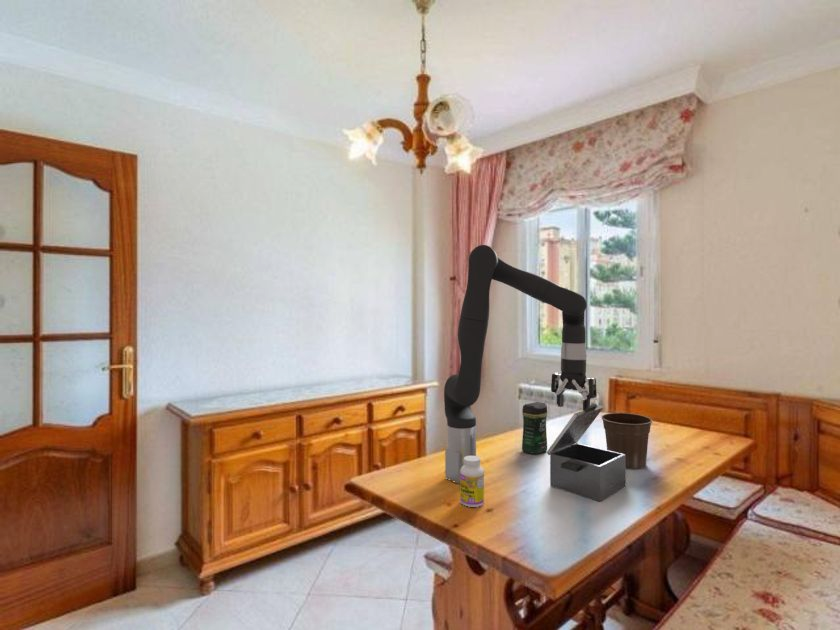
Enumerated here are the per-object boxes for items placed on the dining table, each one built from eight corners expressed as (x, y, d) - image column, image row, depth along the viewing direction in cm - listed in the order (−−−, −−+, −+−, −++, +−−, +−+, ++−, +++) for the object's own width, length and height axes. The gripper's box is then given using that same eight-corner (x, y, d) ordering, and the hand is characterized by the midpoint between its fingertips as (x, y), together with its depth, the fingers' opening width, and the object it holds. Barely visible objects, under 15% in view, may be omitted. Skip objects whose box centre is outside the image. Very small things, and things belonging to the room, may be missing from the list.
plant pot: (622, 474, 152) (622, 425, 151) (591, 458, 167) (591, 414, 167) (663, 469, 156) (663, 421, 156) (629, 454, 171) (629, 411, 171)
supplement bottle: (455, 503, 130) (455, 458, 130) (470, 496, 134) (470, 452, 134) (474, 510, 125) (473, 463, 125) (489, 503, 130) (488, 458, 129)
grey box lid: (580, 411, 134) (574, 405, 135) (547, 456, 142) (541, 451, 144) (606, 403, 145) (600, 398, 146) (574, 445, 153) (569, 440, 155)
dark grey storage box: (595, 505, 128) (595, 469, 128) (544, 488, 140) (544, 455, 140) (629, 484, 143) (629, 452, 143) (581, 471, 155) (581, 441, 154)
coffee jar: (536, 456, 170) (536, 406, 170) (518, 451, 176) (518, 403, 176) (551, 450, 177) (550, 402, 176) (533, 446, 183) (533, 399, 182)
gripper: (546, 356, 147) (546, 406, 148) (589, 360, 137) (588, 414, 137) (559, 354, 152) (558, 403, 153) (601, 358, 142) (600, 410, 142)
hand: (572, 408), depth 145 cm, fingers open, 8 cm apart
